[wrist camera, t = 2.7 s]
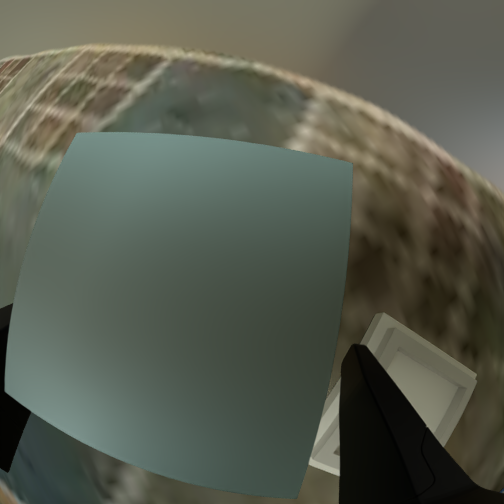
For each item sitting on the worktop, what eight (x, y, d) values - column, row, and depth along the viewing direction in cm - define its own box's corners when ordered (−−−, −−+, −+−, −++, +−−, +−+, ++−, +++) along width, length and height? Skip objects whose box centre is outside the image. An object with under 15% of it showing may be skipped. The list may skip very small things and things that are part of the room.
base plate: (399, 488, 12) (412, 500, 10) (289, 449, 14) (294, 464, 12) (467, 373, 15) (485, 374, 12) (375, 313, 16) (391, 310, 14)
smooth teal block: (261, 374, 15) (296, 498, 3) (177, 355, 15) (5, 391, 3) (277, 291, 16) (352, 163, 4) (194, 274, 17) (77, 133, 4)
